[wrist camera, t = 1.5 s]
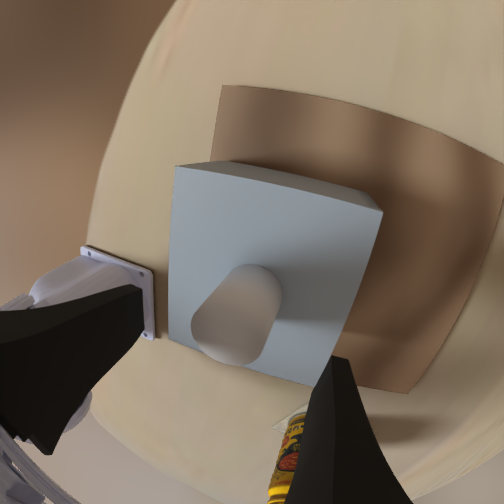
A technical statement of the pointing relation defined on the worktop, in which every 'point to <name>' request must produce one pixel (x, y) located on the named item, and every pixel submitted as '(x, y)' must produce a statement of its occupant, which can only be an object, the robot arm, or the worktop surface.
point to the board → (393, 220)
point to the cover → (265, 265)
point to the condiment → (287, 455)
